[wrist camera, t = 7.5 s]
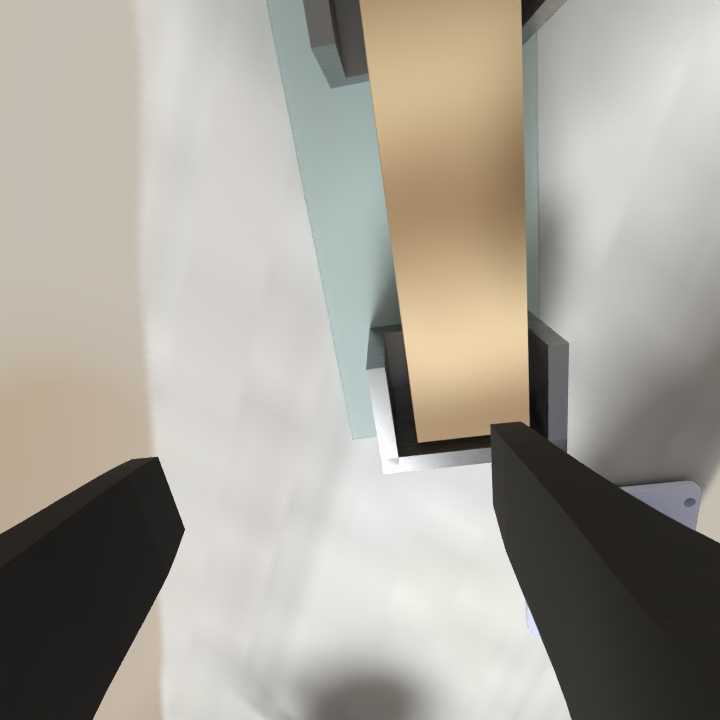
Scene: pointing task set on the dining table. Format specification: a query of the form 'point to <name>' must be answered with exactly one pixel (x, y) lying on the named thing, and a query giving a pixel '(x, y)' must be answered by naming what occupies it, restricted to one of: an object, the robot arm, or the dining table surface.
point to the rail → (454, 203)
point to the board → (363, 200)
